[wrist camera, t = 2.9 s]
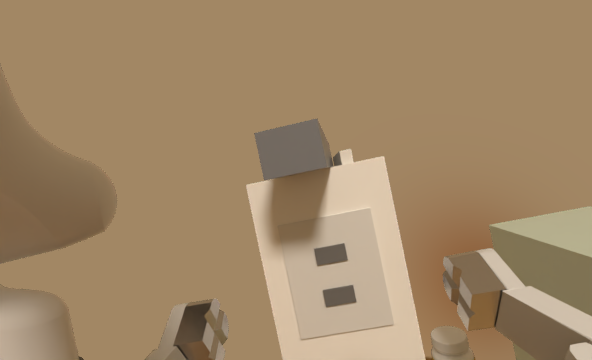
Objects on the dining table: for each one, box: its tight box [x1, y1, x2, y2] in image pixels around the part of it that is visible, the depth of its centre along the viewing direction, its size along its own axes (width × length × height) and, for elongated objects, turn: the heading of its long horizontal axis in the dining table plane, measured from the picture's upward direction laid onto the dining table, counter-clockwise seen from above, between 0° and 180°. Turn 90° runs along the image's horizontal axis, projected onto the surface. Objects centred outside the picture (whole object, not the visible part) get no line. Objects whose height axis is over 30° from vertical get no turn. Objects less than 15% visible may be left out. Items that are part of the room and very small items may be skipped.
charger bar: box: [254, 119, 333, 180], centre depth 29 cm, size 20×4×3 cm, turn 172°
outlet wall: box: [246, 149, 426, 360], centre depth 33 cm, size 14×12×32 cm
